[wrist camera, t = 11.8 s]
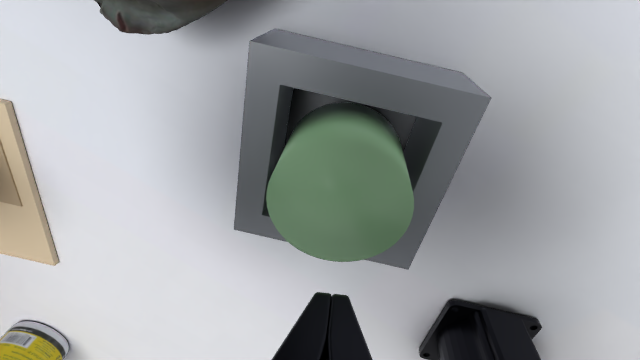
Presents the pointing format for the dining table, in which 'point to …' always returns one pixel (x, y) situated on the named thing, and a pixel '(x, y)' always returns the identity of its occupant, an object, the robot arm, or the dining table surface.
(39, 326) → the supplement bottle
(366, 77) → the button box
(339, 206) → the button
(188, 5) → the lucky cat figurine
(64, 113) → the dining table surface
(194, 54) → the dining table surface
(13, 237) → the kraft sheet
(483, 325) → the robot arm
